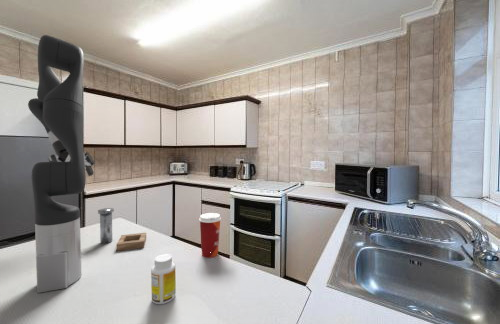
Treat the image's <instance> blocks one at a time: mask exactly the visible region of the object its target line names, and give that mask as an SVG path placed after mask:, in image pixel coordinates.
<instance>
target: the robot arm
mask: <svg viewBox="0 0 500 324" xmlns="http://www.w3.org/2000/svg"><path fill="white" fill-rule="evenodd" d="M84 58H85V56H84V52H83V49H82V47H80V46H79V45H77V44H74V43H71V42H68V41H66V40H62V39H61V38H57V37H55V36H51V35H49V34H45V35H44V34H43V35H42V36H41V37H40V38H39V41H38V47H37V71H38V87H37V92H36V95H37V96H36V97H37V98H36V97H35V98H31V99H29V100H28V102H27V103H28V104H27V106H28V110H29V111H30V112H31V113H32V114H33V116H34V117H35V118H36V119H37V120H39V121H38V122H40V123H41V125H43V127H44V130H45V131H46V133H47V136H48V140H49V142H50V145H51V146H52V148H53V150H54V152H55V154H56V155H55V154H51V155H50V156H49V157H47V158H48V159H47V160H48V161H41V162H36V163H35V164H34V165H33V167H32V169H31V184H32V186H31V187H32V192H33V193H32V194H33V201H34V202H33V205H34V227H35V228H34V229H35V232H34V233H35V236H34V237H35V238H34V239H35V269H36V293H37V294H40V293H44V292H45V293H46V292H50V291H51V292H52V291H56V290H57V291H58V290H62V289H66V288H68V287H69V286H70V285H72V284H74V283H77V282H78V280H79V279H80V278H81V277H82V250H81V249H82V248H81V246H82V245H81V243H82V242H81V210H80V208H79V207H78V206H76V205H71V204H67V203H65V204H64V203H60V202H58V201H56V200H54V199H53V198H52V197H57V196H67V195H68V196H69V195H77V194H81V193H83V192H84V190H85V187H86V182H87V181H86V173H87V176H88V177H92V176H94V170H93V168H92V167H93V166H94V165H95V163H96V162H95V161H94V159H93V157H92V155H91V153H90V152H88V151H86V152H84V140H83V139H84V136H83V135H84V101H83V79H84V78H83V77H84V63H85V59H84ZM53 69H55V70H56V69H57V70H60V71H64V72H67V73H69V75H68V76H67V77H66V79H65V80H63V81H62V80H61V79H60V78H59V77H58V76H57V74H56V73H55V72H54V70H53Z"/></svg>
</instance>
